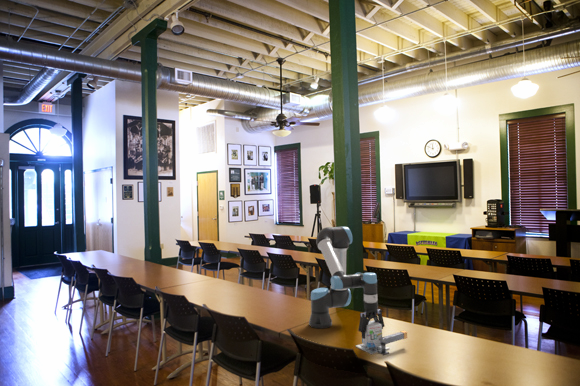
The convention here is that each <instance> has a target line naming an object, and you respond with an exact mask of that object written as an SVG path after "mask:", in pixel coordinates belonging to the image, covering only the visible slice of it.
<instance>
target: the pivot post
mask: <svg viewBox="0 0 580 386" xmlns="http://www.w3.org/2000/svg"><path fill="white" fill-rule="evenodd" d="M386 345H387V344H386ZM386 345H381V351H378V353H377V354H380V355H382V356H386V355H389V354H390V352H389V351H388V350H386V347H387V346H386Z"/></svg>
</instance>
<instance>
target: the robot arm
mask: <svg viewBox="0 0 580 386" xmlns="http://www.w3.org/2000/svg"><path fill="white" fill-rule="evenodd" d="M315 242H316V243H315V244H316V246H317V249H318V250H319V251H321V255H322V256H323V259H324V260H325V263H326V266H327V268H328V270H329V273H330V274H331V277H330V284H331V285H330V288H328V287H319V288H318V287H317V288H315V289H313V290H311V292H310V309H311V310H310V317H309V320H308V326H309V325H310V326H311V328H313V327H314V328H313V329H327V328H328V329H329V328H331V327H332V326H333V320H332V318H331V316H330V309H333V308H334V309H335V308H344V307H347V306H349V305H350V304H351V300H352V294H351V293H352V292H351V290H350V289H356V288H358V289H359V288H362V290H363V308H364V312H360V314H359V316H360V317H359V322H358V324H359V325H358V329H357V330H358V332H360V333H361V339H362V338H363V343H362V344H365V345H367V333H366V329H367V325H368V323H369V321H371V320H372V319H373V321H375V322H378V323H380V324H381V325H382V330H384V327H385V323H384V318H383V310H382V309H380V308H379V303H378V300H379V299H378V279H377V278H378V277H377V273H375V272H364V273H363V272H356V273H354V274H347V250H348V249H349V248H350V246H349V245H351V244H352V243H353V234H352V231H351V229H350V228H349V227H348V226H331V227H324V228H322V229H321V230H320V231H319V232H318V233H317V235H316V238H315ZM310 326H309V327H310Z"/></svg>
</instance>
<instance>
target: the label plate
mask: <svg viewBox="0 0 580 386" xmlns="http://www.w3.org/2000/svg"><path fill="white" fill-rule="evenodd" d="M355 348H357V349H359V350H361V351H364V352H366V353H368V354H370V355H374V354H379V353H378V351H381V346H378V347H371V348H369V347H367V346H366V345H365V344H363V343H360V344H357V345H355ZM388 350H391V349H390V347H388V346H386V351H388Z"/></svg>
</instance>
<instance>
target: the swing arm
mask: <svg viewBox="0 0 580 386" xmlns="http://www.w3.org/2000/svg"><path fill="white" fill-rule="evenodd" d="M407 339H408V332H407V331H406V330H401V331H399V332H395V333H392V334H390V335H389V334H388V335H385V336H382V337H381V338H380V344H381V345H388V344H391V343H395V342H397V341H400V340H407Z"/></svg>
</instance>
